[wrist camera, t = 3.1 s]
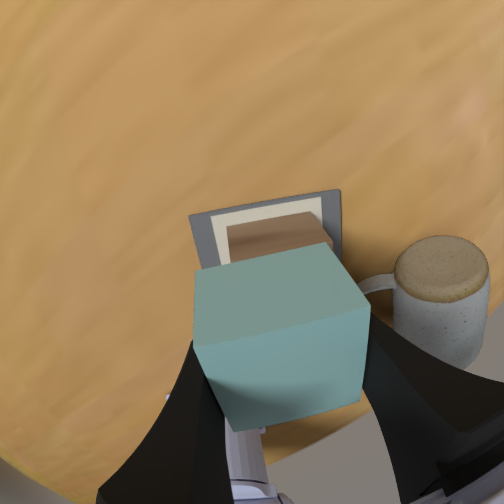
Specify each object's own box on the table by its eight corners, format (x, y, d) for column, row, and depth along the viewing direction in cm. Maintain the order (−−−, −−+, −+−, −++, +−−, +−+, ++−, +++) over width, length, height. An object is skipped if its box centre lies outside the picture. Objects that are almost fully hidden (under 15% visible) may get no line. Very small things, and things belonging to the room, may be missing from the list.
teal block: (329, 335, 14) (359, 401, 11) (225, 359, 14) (233, 432, 10) (325, 241, 12) (370, 305, 8) (195, 270, 12) (193, 347, 8)
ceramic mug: (451, 217, 20) (517, 269, 14) (450, 294, 24) (497, 350, 18) (330, 268, 21) (374, 347, 14) (348, 342, 25) (381, 414, 18)
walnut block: (314, 280, 21) (333, 318, 17) (240, 295, 21) (247, 336, 17) (309, 211, 18) (333, 241, 15) (225, 226, 18) (230, 261, 15)
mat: (339, 315, 23) (340, 317, 23) (222, 339, 23) (222, 342, 22) (338, 188, 18) (340, 190, 18) (188, 215, 18) (188, 217, 18)
